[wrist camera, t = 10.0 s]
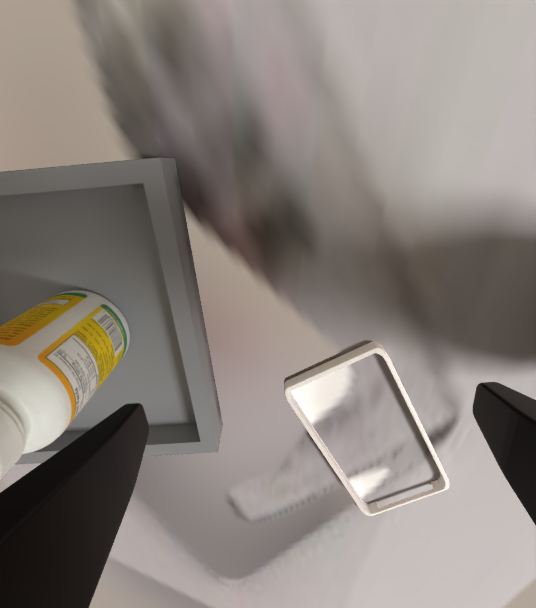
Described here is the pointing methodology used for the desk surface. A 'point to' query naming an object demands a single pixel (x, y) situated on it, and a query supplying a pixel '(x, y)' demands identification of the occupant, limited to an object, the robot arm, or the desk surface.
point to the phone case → (326, 394)
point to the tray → (117, 289)
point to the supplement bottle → (54, 367)
